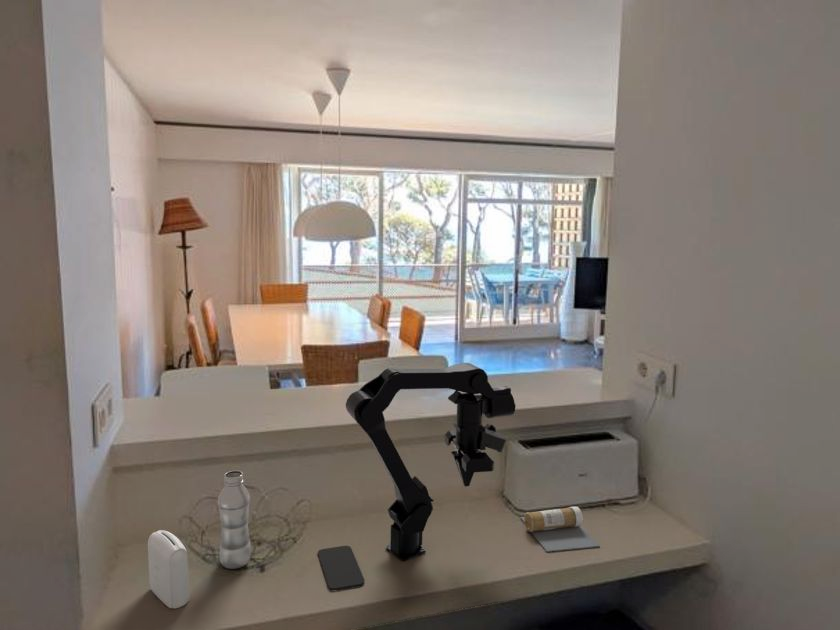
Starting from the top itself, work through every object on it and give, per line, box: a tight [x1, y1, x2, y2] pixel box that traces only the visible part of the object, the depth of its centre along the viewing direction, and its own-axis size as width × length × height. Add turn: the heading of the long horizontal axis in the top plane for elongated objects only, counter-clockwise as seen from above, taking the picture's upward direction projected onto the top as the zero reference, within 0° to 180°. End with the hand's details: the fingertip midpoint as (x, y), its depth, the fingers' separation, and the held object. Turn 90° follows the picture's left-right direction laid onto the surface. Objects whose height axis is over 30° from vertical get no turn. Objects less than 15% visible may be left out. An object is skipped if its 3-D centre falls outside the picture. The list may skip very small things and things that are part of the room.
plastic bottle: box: [217, 470, 252, 570], centre depth 123 cm, size 6×7×20 cm
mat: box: [519, 516, 600, 553], centre depth 141 cm, size 13×16×1 cm
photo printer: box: [147, 529, 190, 610], centre depth 113 cm, size 10×4×12 cm, turn 47°
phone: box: [317, 545, 365, 591], centre depth 124 cm, size 7×1×15 cm
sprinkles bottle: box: [524, 506, 584, 533], centre depth 142 cm, size 5×5×14 cm
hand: (466, 485), depth 135 cm, fingers closed
